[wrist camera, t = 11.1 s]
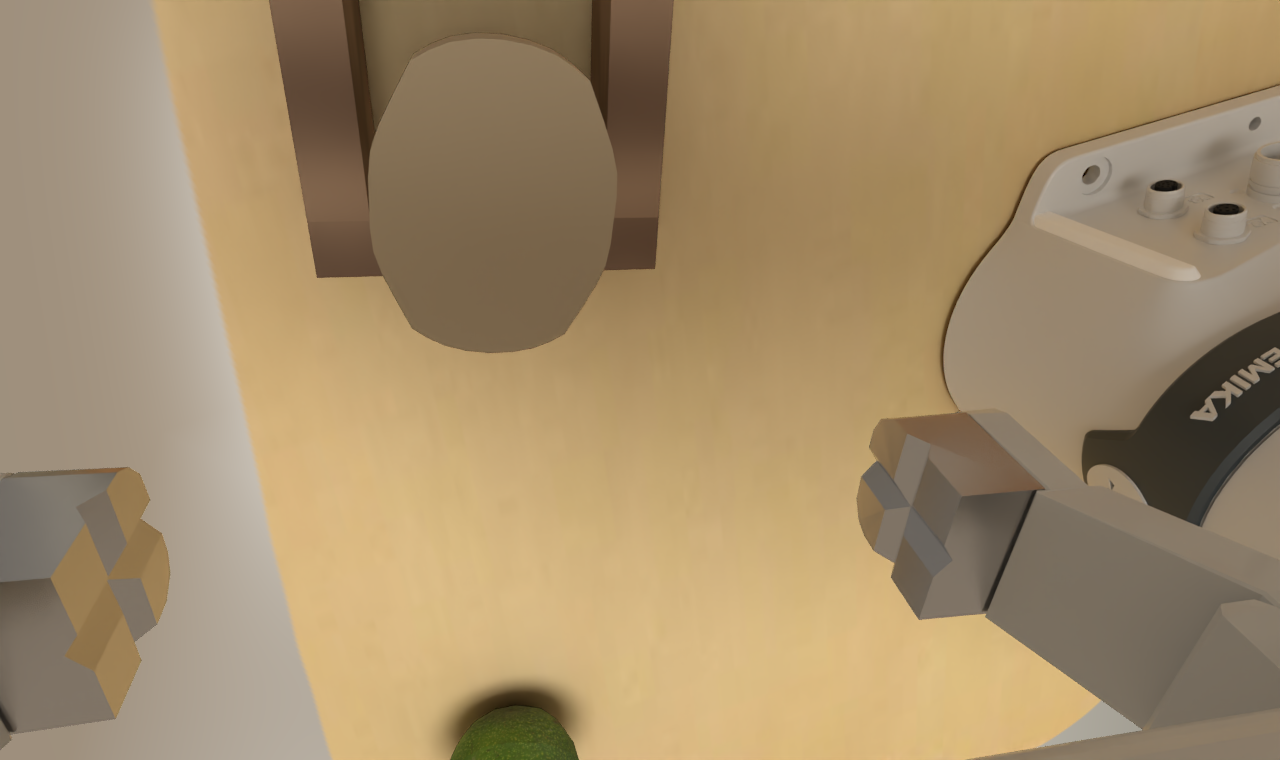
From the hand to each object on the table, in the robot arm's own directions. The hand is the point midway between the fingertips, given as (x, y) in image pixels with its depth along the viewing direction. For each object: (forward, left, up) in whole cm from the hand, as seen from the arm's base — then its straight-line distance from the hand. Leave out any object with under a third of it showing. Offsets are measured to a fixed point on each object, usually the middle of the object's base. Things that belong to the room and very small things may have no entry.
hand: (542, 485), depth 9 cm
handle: (0, -1, -23) cm, 23 cm away
